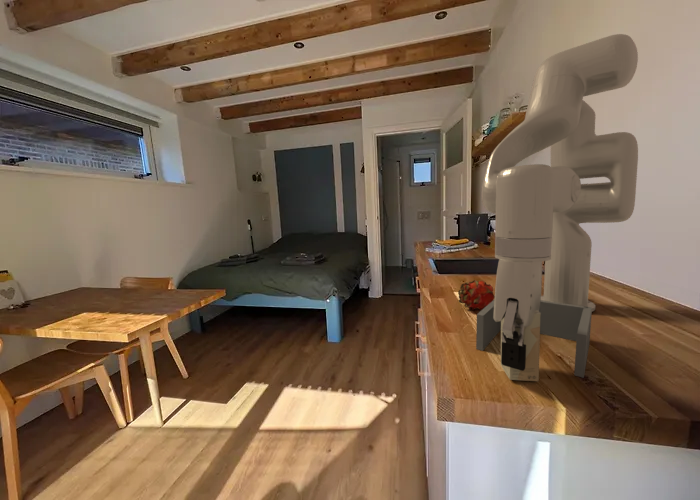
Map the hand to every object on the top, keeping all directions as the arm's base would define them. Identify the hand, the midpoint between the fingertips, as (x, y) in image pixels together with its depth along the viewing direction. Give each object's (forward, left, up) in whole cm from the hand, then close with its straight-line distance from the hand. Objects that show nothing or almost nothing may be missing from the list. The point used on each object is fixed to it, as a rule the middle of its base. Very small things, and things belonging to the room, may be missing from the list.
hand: (518, 356), depth 48 cm
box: (0, 0, -3) cm, 3 cm away
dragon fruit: (-29, -16, -3) cm, 33 cm away
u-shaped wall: (-13, 0, -3) cm, 13 cm away
